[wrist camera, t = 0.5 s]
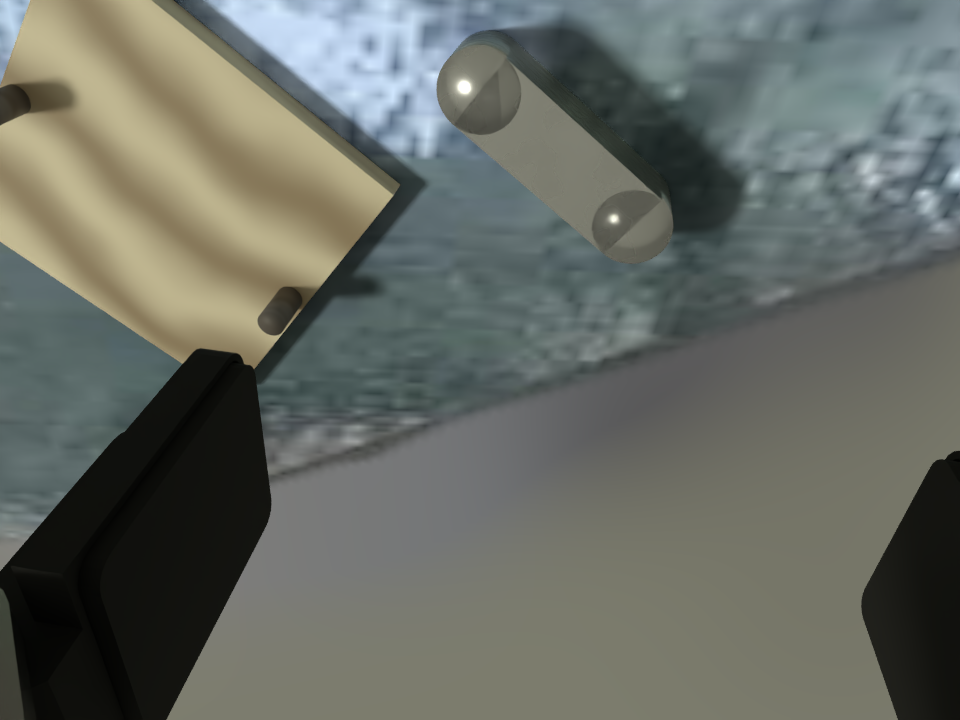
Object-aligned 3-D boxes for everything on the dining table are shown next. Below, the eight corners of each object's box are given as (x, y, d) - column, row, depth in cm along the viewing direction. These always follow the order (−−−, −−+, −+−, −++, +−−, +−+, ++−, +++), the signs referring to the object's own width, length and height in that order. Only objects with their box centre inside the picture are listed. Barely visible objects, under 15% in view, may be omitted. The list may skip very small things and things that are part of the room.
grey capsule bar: (484, 12, 36) (471, 27, 33) (686, 198, 39) (690, 226, 37) (435, 76, 38) (420, 96, 35) (631, 247, 42) (631, 277, 39)
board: (76, -79, 36) (15, -69, 33) (400, 184, 42) (378, 218, 38) (-28, 202, 47) (-82, 232, 44) (241, 383, 52) (212, 424, 49)
